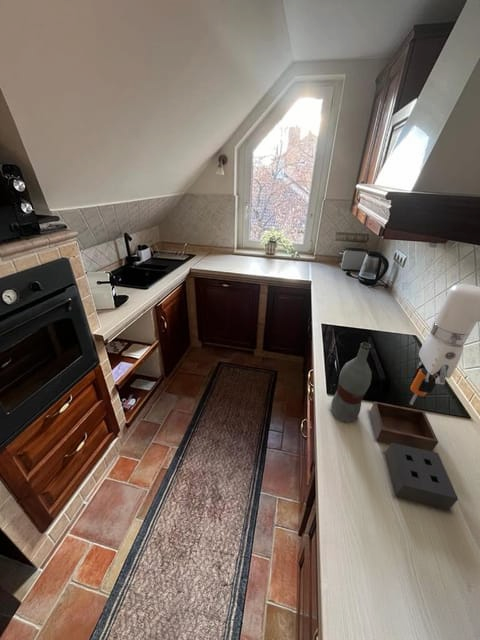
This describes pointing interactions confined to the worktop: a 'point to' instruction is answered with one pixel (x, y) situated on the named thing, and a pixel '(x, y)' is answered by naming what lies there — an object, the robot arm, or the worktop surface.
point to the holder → (420, 476)
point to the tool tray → (402, 426)
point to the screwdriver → (417, 382)
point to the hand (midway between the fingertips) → (421, 384)
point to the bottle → (352, 386)
